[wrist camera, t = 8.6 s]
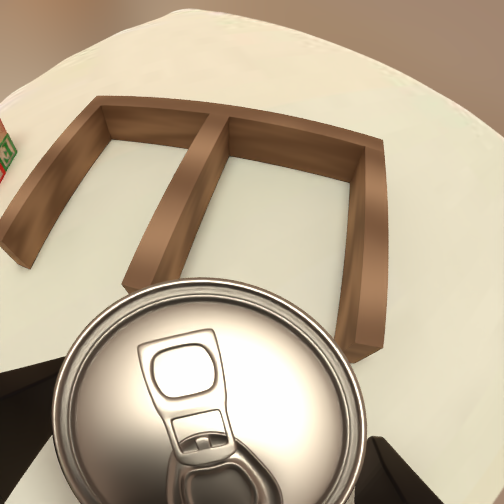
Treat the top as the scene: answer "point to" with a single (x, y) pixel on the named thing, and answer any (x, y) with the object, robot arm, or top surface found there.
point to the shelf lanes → (203, 185)
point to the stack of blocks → (5, 151)
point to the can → (208, 401)
